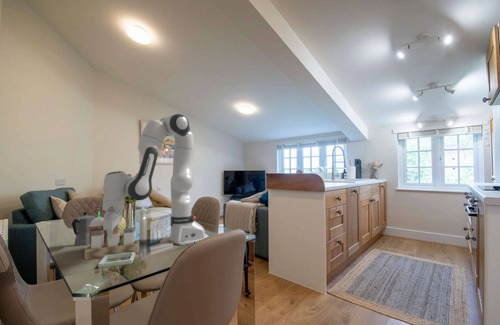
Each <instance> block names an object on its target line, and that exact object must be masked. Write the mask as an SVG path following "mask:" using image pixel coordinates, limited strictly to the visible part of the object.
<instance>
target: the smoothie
mask: <svg viewBox="0 0 500 325" xmlns="http://www.w3.org/2000/svg"><path fill="white" fill-rule="evenodd" d="M100 214H101V212H100V210H99V211H98V213H97V215H98V216H96V217H95V218H94V219H93V220H92V221H91V223H90V225H89V236H90V245H91V233H92V232H93V231H97V230H103V220H104V216H103V217H102V216H100ZM104 244H108V235H107V230H104ZM90 245H89V246H90Z"/></svg>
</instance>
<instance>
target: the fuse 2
mask: <svg viewBox="0 0 500 325" xmlns="http://www.w3.org/2000/svg"><path fill="white" fill-rule="evenodd" d="M135 230H136V227H135V226H133V227H125V228H124V229H123V242H124V245H133V244H135V241H136V240H135V238H136V237H135Z"/></svg>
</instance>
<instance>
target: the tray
mask: <svg viewBox="0 0 500 325" xmlns="http://www.w3.org/2000/svg"><path fill="white" fill-rule="evenodd" d="M135 257H136V254H135V252H131V253H122V254H114V255H105V256H104V257H103V258H101V260H100V261H99V262H98V263H97V267H98V268H97V269H100V268H101V269H102V268H109V267H117V266H124V265H131V264H133V262H134V260H135ZM123 258H129V259H123ZM115 259H123V260H116V261H115ZM108 260H114V261H108Z"/></svg>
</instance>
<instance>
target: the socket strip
mask: <svg viewBox="0 0 500 325" xmlns="http://www.w3.org/2000/svg"><path fill="white" fill-rule="evenodd" d="M139 250H140V240H135V244H133V245H124V241H122V242H121V241H120V245H119V246H115V247H108V243H107V244H104V247H103V248H96V249H91V245H88V247H87V248H86V249H84V261H85V260H92V259H93V260H95V259H103V258H104V256H105V255H114V254H122V253H131V252H135V255H136V254H138V253H139Z"/></svg>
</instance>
